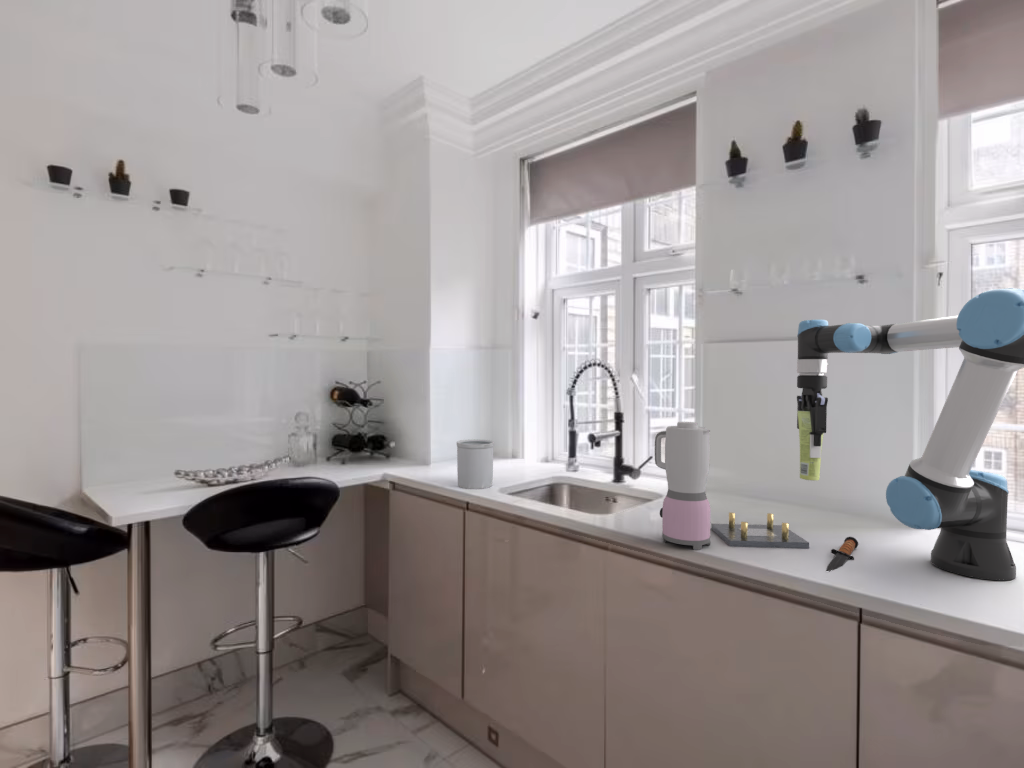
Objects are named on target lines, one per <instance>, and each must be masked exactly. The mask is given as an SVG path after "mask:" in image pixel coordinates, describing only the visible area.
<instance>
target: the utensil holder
mask: <svg viewBox="0 0 1024 768" xmlns="http://www.w3.org/2000/svg"><path fill="white" fill-rule="evenodd" d="M494 447H495V441H493V440H490V439H489V440H488V439H473V438H472V439H461V440H458V441H456V449H457V451H456V453H457V454H456V456H457V457H456V458H457V460H456V461H457V465H456V467H457V486H458V487H460V488H462V489H466V490H467V489H468V490H482V489H488V488H491V487H492V486H493V479H494V477H493V476H494V475H493V474H494Z"/></svg>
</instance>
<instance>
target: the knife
mask: <svg viewBox="0 0 1024 768" xmlns="http://www.w3.org/2000/svg"><path fill="white" fill-rule="evenodd" d="M858 545H859V541H858V540H857V539H856V538H855V537H854V536H847V537H845V539H844V540H843V543H842V544H841V545H840V547H839V549H834V548H832V549H831V550H830V553H831V554H832V555H833V558H832V559H831V561H829V563H828V564H827V566H826V570H825V572H826V571H829V572H832V571H835V570H837V569H839V568H841V567H843V566H844V565H845V563H846V562H847V561H848V560H851V561H854V560H855V557H854V556H853V555H851V554H852V553H853V552H854V550H855V549H857V548H858ZM831 570H832V571H831Z"/></svg>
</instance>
